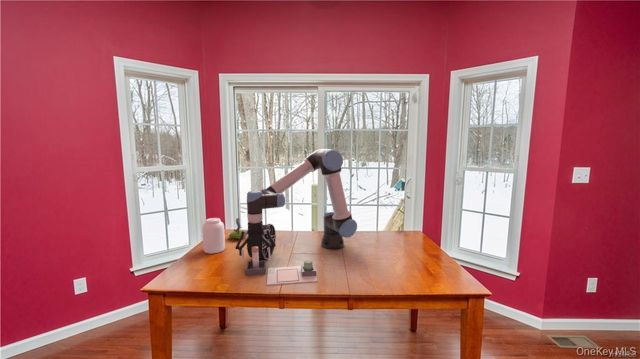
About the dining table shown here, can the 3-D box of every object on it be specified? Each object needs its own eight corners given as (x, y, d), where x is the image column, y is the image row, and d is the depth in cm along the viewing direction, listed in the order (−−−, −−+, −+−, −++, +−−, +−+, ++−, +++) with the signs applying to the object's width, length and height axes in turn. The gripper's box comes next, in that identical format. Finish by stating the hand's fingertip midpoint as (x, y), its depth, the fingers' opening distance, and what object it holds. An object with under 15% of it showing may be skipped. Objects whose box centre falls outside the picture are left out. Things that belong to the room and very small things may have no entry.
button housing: (314, 269, 141) (314, 264, 140) (315, 275, 134) (315, 270, 134) (300, 270, 140) (300, 265, 139) (302, 276, 133) (302, 271, 132)
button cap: (311, 267, 139) (311, 260, 139) (313, 271, 135) (313, 263, 134) (303, 268, 138) (303, 260, 138) (304, 272, 134) (304, 264, 134)
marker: (259, 267, 142) (258, 246, 141) (259, 270, 139) (258, 248, 138) (253, 268, 142) (251, 246, 140) (252, 271, 138) (251, 248, 137)
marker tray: (266, 265, 146) (266, 260, 146) (265, 274, 136) (265, 268, 136) (247, 266, 145) (247, 261, 144) (245, 275, 135) (245, 269, 135)
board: (312, 266, 146) (312, 264, 146) (317, 281, 129) (317, 280, 129) (268, 269, 142) (268, 267, 142) (266, 285, 125) (266, 284, 125)
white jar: (207, 255, 159) (206, 223, 156) (200, 249, 168) (199, 218, 165) (228, 250, 167) (227, 219, 164) (220, 245, 176) (219, 215, 174)
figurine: (231, 235, 196) (230, 215, 194) (249, 234, 197) (248, 214, 195) (226, 241, 182) (226, 220, 180) (246, 241, 183) (245, 219, 181)
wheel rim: (262, 265, 147) (262, 229, 144) (247, 263, 148) (246, 228, 146) (275, 251, 166) (275, 219, 164) (262, 250, 168) (261, 219, 165)
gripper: (279, 218, 143) (280, 256, 146) (231, 220, 139) (232, 259, 142) (279, 222, 136) (280, 261, 138) (228, 224, 132) (230, 265, 134)
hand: (256, 260), depth 140 cm, fingers open, 13 cm apart
